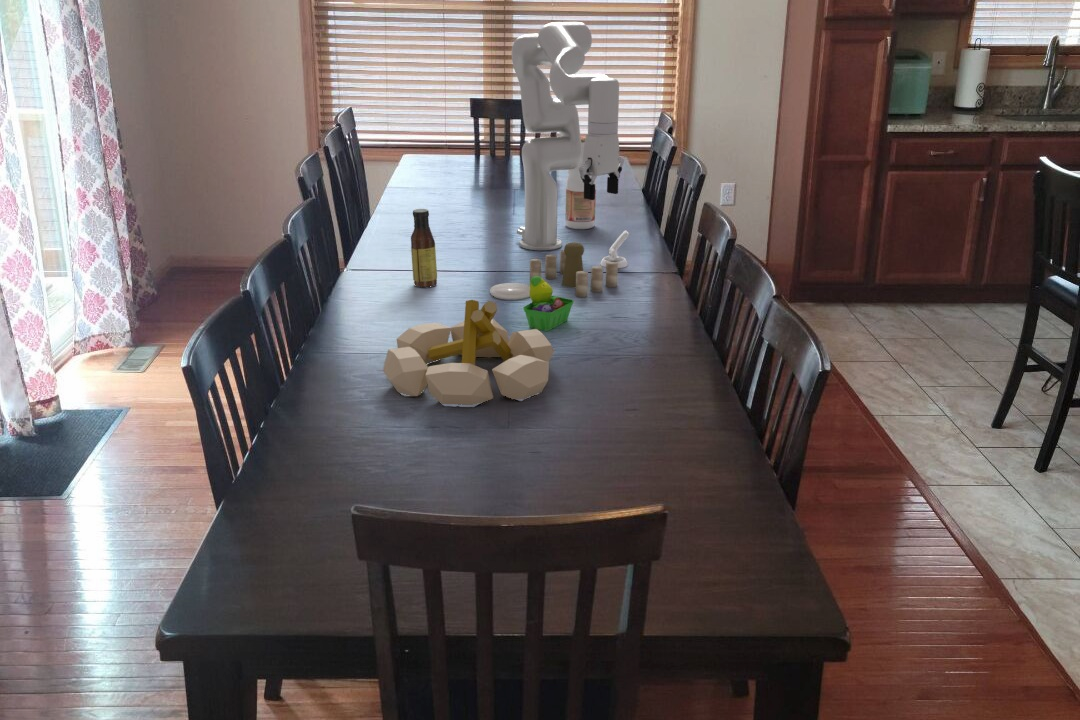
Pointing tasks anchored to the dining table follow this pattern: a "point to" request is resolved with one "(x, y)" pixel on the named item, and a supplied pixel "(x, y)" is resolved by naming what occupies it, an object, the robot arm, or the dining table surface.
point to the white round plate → (510, 291)
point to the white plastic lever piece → (614, 254)
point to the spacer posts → (577, 274)
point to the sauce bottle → (423, 251)
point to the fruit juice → (578, 200)
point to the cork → (572, 263)
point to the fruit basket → (545, 306)
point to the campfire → (469, 359)
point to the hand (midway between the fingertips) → (601, 196)
